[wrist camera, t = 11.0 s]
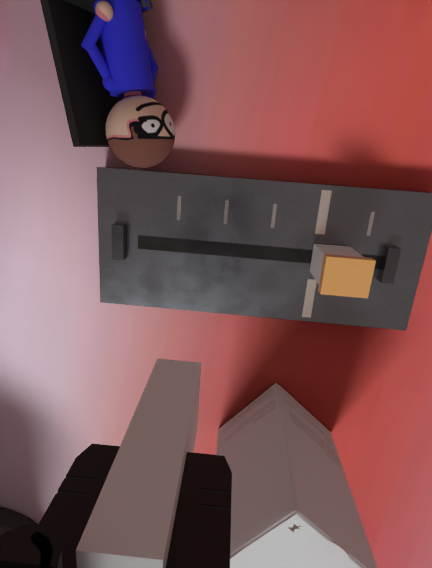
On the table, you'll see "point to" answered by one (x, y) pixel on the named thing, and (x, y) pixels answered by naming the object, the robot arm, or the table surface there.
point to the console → (256, 245)
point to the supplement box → (289, 490)
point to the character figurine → (109, 78)
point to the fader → (341, 271)
